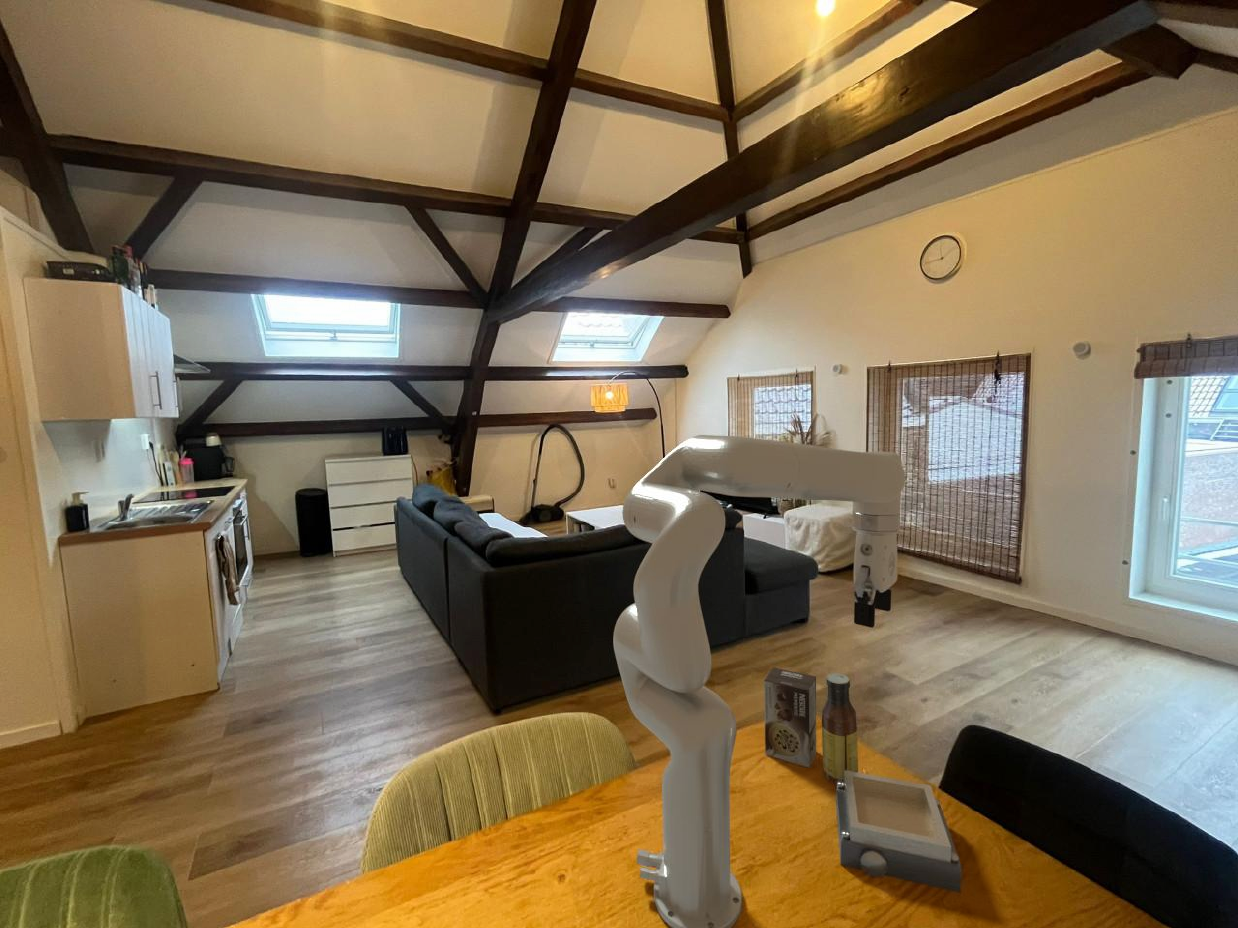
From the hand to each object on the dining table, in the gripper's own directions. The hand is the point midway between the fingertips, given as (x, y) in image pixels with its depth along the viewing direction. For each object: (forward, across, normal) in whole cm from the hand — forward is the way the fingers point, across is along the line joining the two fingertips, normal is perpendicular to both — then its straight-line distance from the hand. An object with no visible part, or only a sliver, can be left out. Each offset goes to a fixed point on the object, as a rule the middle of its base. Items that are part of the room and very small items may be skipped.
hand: (872, 617), depth 96 cm
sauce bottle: (+33, 0, +5) cm, 33 cm away
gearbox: (+33, -10, -7) cm, 35 cm away
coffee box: (+33, +1, +15) cm, 36 cm away
